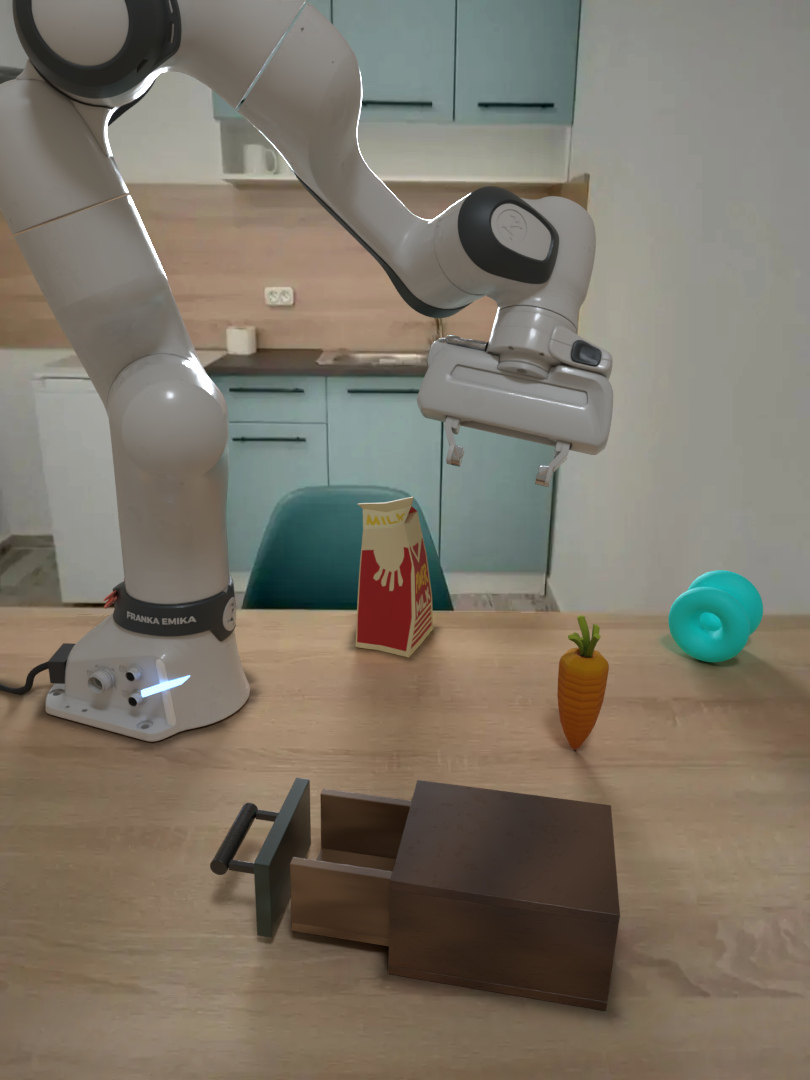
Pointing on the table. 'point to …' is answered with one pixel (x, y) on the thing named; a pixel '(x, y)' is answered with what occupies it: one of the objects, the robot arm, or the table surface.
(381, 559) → the milk carton
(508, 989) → the cabinet
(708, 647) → the turquoise spool
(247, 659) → the table surface
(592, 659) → the carrot
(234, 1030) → the table surface
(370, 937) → the drawer
